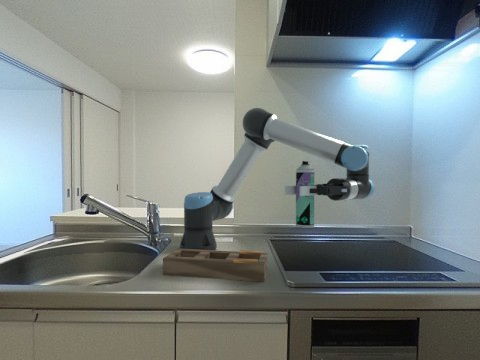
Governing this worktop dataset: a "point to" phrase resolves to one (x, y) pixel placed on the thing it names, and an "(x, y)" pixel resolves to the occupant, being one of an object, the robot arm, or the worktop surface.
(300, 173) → the spray can
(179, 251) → the rack
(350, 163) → the robot arm
